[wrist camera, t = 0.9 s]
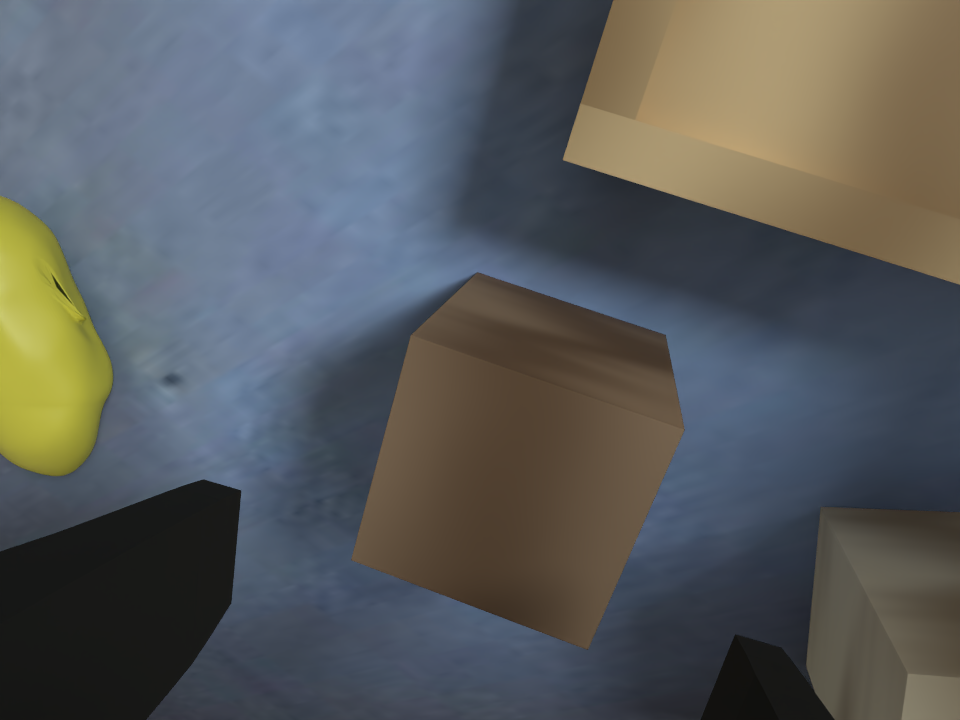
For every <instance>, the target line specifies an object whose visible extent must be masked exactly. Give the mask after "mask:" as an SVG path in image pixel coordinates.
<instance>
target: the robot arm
mask: <svg viewBox="0 0 960 720" xmlns="http://www.w3.org/2000/svg"><path fill="white" fill-rule="evenodd" d="M240 498H241V490H238V489H234V488H231V487H227V486H224V485H221V484H217V483H214V482H210V481H207V480H200V481H197V482H194V483H190V484H187V485H184V486H181V487H179V488H176V489H173V490H170V491H167V492H165V493H162V494H159V495H157V496H154V497H151V498H149V499H146V500H143V501H141V502H138V503H135V504H133V505H130V506H127V507H125V508H122V509H120V510H117V511H114V512H111V513H109V514H106V515H103V516H101V517H98V518H95V519H93V520H90V521H87V522H85V523H82V524H79V525H76V526H74V527H71V528H68V529H66V530H63V531H60V532H57V533H55V534H52V535H49V536H46V537H43V538H40V539H37V540H34V541H31V542H28V543H25V544H22V545H19V546H16V547H13V548H10V549H7V550H4V551H1V552H0V720H146V719H147V718H148V717H149V715H150V714H151V713H152V712H153V711H154V709H155V708H156V707H157V706H158V705H159V703H160V702H161V701H162V700H163V699H164V697H165V696H166V695H167V694H168V693H169V691H170V690H171V689H172V688H173V687H174V685H175V684H176V683H177V682H178V680H179V679H180V678H181V677H182V676H183V674H184V673H185V672H186V671H187V669H188V668H189V667H190V666H191V664H192V663H193V662H194V660H195V659H196V657H197V656H198V654H199V653H200V651H201V650H202V648H203V647H204V645H205V644H206V642H207V641H208V639H209V638H210V636H211V634H212V633H213V631H214V630H215V628H216V627H217V625H218V623H219V622H220V620H221V619H222V617H223V615H224V614H225V612H226V611H227V609H228V607H229V606H230V604H231V600H232V589H233V578H234V566H235V555H236V544H237V532H238V521H239V510H240ZM701 720H835V719H834V718H833V716H832V715H831V714H830V712H829V711H828V710H827V708H826V707H825V706H824V704H823V703H822V701H821V700H820V699H819V697H818V696H817V694H816V693H815V692H814V690H813V689H812V688H811V686H810V685H809V684H808V682H807V681H806V679H805V678H804V677H803V675H802V674H801V673H800V671H799V670H798V669H797V667H796V666H795V665H794V663H793V662H792V661H791V659H790V658H789V657H788V655H787V654H786V653H785V652H784V650H783V649H782V648H780V647H777V646H773V645H770V644H767V643H763V642H760V641H756V640H753V639H749V638H746V637H743V636H739V635H736V634H735V636H734V639H733V641H732V644H731V646H730V649H729V651H728V653H727V656H726V658H725V661H724V663H723V666H722V668H721V671H720V673H719V676H718V678H717V681H716V683H715V686H714V688H713V691H712V693H711V696H710V698H709V701H708V703H707V706H706V708H705V710H704V713H703V715H702V718H701Z"/></svg>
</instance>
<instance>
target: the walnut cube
mask: <svg viewBox="0 0 960 720" xmlns="http://www.w3.org/2000/svg"><path fill="white" fill-rule="evenodd" d="M684 430H685V429H684V424H683V419H682V414H681V409H680V404H679V399H678V394H677V389H676V384H675V379H674V374H673V369H672V364H671V359H670V354H669V349H668V345H667V340H666V335H664V334H661V333H658V332H655V331H652V330H649V329H646V328H643V327H640V326H637V325H634V324H631V323H628V322H625V321H622V320H619V319H616V318H613V317H610V316H607V315H604V314H601V313H598V312H595V311H592V310H589V309H586V308H583V307H580V306H577V305H574V304H571V303H568V302H565V301H562V300H559V299H556V298H553V297H550V296H547V295H544V294H541V293H538V292H535V291H532V290H529V289H526V288H523V287H520V286H517V285H514V284H511V283H508V282H505V281H502V280H499V279H496V278H493V277H490V276H487V275H484V274H481V273H478V272H477V273H476V274H475V275H474V276H473V277H472V278H471V279H470V280H469V281H468V282H467V283H466V284H465V285H464V286H462V287H461V288H460V289H459V290H458V291H457V292H456V293H455V294H454V295H453V296H452V297H451V298H450V299H449V300H448V301H447V302H445V303H444V304H443V305H442V306H441V307H440V308H439V309H438V310H437V311H436V312H435V313H434V314H433V315H432V316H431V317H430V318H429V319H427V320H426V321H425V322H424V323H423V324H422V325H421V326H420V327H419V328H418V329H417V330H416V331H415V332H414V333H413V334H412V335H411V337H410V340H409V344H408V348H407V352H406V355H405V359H404V363H403V367H402V370H401V374H400V378H399V382H398V386H397V389H396V393H395V397H394V401H393V404H392V408H391V412H390V416H389V419H388V423H387V427H386V431H385V434H384V438H383V442H382V446H381V450H380V453H379V457H378V461H377V465H376V468H375V472H374V476H373V480H372V483H371V487H370V491H369V495H368V498H367V502H366V506H365V510H364V513H363V517H362V521H361V525H360V529H359V532H358V536H357V540H356V544H355V547H354V551H353V555H352V559H351V560H352V561H355V562H357V563H360V564H363V565H365V566H368V567H370V568H373V569H376V570H378V571H381V572H384V573H386V574H389V575H392V576H394V577H397V578H399V579H402V580H405V581H407V582H410V583H413V584H415V585H418V586H421V587H423V588H426V589H428V590H431V591H434V592H436V593H439V594H442V595H444V596H447V597H450V598H452V599H455V600H457V601H460V602H463V603H465V604H468V605H471V606H473V607H476V608H479V609H481V610H484V611H486V612H489V613H492V614H494V615H497V616H500V617H502V618H505V619H507V620H510V621H513V622H515V623H518V624H521V625H523V626H526V627H529V628H531V629H534V630H536V631H539V632H542V633H544V634H547V635H550V636H552V637H555V638H558V639H560V640H563V641H565V642H568V643H571V644H573V645H576V646H579V647H581V648H584V649H587V650H588V648H589V646H590V644H591V642H592V639H593V637H594V635H595V632H596V630H597V628H598V626H599V623H600V621H601V619H602V617H603V614H604V612H605V610H606V607H607V605H608V603H609V601H610V598H611V596H612V594H613V592H614V589H615V587H616V585H617V582H618V580H619V578H620V576H621V573H622V571H623V569H624V566H625V564H626V562H627V560H628V557H629V555H630V553H631V551H632V548H633V546H634V544H635V541H636V539H637V537H638V535H639V532H640V530H641V528H642V526H643V523H644V521H645V519H646V516H647V514H648V512H649V510H650V507H651V505H652V503H653V501H654V498H655V496H656V494H657V491H658V489H659V487H660V485H661V482H662V480H663V478H664V476H665V473H666V471H667V469H668V466H669V464H670V462H671V460H672V457H673V455H674V453H675V451H676V448H677V446H678V444H679V441H680V439H681V437H682V435H683V432H684Z"/></svg>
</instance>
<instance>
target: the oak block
mask: <svg viewBox="0 0 960 720" xmlns="http://www.w3.org/2000/svg"><path fill="white" fill-rule="evenodd" d="M563 160H564V161H567V162H571V163H574V164H577V165H580V166H583V167H586V168H590V169H593V170H596V171H599V172H602V173H606V174H609V175H612V176H615V177H618V178H622V179H625V180H628V181H631V182H634V183H637V184H641V185H644V186H647V187H650V188H653V189H657V190H660V191H663V192H666V193H669V194H673V195H676V196H679V197H682V198H685V199H688V200H692V201H695V202H698V203H701V204H704V205H708V206H711V207H714V208H717V209H720V210H723V211H727V212H730V213H733V214H736V215H739V216H743V217H746V218H749V219H752V220H755V221H759V222H762V223H765V224H768V225H771V226H774V227H778V228H781V229H784V230H787V231H790V232H794V233H797V234H800V235H803V236H806V237H810V238H813V239H816V240H819V241H822V242H825V243H829V244H832V245H835V246H838V247H841V248H845V249H848V250H851V251H854V252H857V253H861V254H864V255H867V256H870V257H873V258H876V259H880V260H883V261H886V262H889V263H892V264H896V265H899V266H902V267H905V268H908V269H911V270H915V271H918V272H921V273H924V274H927V275H931V276H934V277H937V278H940V279H943V280H947V281H950V282H953V283H956V284H959V285H960V0H613V3H612V6H611V9H610V12H609V16H608V19H607V22H606V25H605V28H604V31H603V34H602V38H601V41H600V44H599V47H598V50H597V53H596V56H595V60H594V63H593V66H592V69H591V72H590V75H589V79H588V82H587V85H586V88H585V91H584V94H583V97H582V101H581V104H580V107H579V110H578V113H577V116H576V119H575V123H574V126H573V129H572V132H571V135H570V138H569V141H568V145H567V148H566V151H565V154H564V157H563Z"/></svg>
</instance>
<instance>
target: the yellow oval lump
mask: <svg viewBox="0 0 960 720" xmlns="http://www.w3.org/2000/svg"><path fill="white" fill-rule="evenodd" d="M112 384H113V370H112V364H111V361H110V358H109V356H108V353H107V351H106V349H105V347H104V345H103V343H102V341H101V339H100V338H99V336H98V334H97V332H96V330H95V328H94V326H93V324H92V321H91V318H90V316H89V313H88V310H87V308H86V305H85V303H84V300H83V298H82V296H81V294H80V292H79V290H78V288H77V286H76V284H75V282H74V280H73V277H72V275H71V272H70V270H69V267H68V265H67V262H66V259H65V257H64V254H63V252H62V249H61V247H60V245H59V243H58V241H57V239H56V237H55V236H54V234H53V233H52V231H51V230H50V229H49V228H48V227H47V226H46V225H45V224H44V223H43V222H42V221H41V220H40V219H39V218H38V217H36V216H35V215H34V214H33V213H31V212H30V211H29V210H27V209H26V208H24V207H23V206H21V205H20V204H18V203H16V202H14V201H12V200H10V199H8V198H5V197H2V196H0V453H1V454H2V455H3V456H4V457H5V458H6V459H8V460H9V461H10V462H12V463H14V464H15V465H17V466H19V467H21V468H24V469H26V470H29V471H32V472H36V473H39V474H44V475H49V476H63V475H67V474H69V473H71V472H73V471H75V470H76V469H77V468H78V467H80V466H81V465H82V464H83V463H84V461H85V460H86V459H87V458H88V456H89V455H90V453H91V452H92V450H93V447H94V445H95V442H96V438H97V434H98V428H99V423H100V417H101V412H102V409H103V406H104V403H105V401H106V399H107V398H108V396H109V394H110V392H111V389H112Z"/></svg>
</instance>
